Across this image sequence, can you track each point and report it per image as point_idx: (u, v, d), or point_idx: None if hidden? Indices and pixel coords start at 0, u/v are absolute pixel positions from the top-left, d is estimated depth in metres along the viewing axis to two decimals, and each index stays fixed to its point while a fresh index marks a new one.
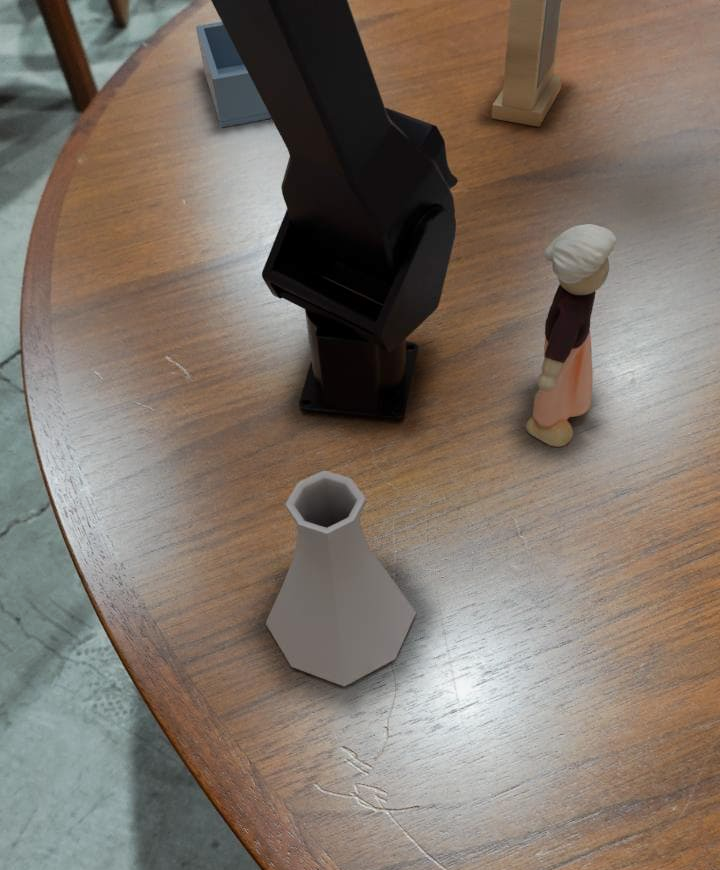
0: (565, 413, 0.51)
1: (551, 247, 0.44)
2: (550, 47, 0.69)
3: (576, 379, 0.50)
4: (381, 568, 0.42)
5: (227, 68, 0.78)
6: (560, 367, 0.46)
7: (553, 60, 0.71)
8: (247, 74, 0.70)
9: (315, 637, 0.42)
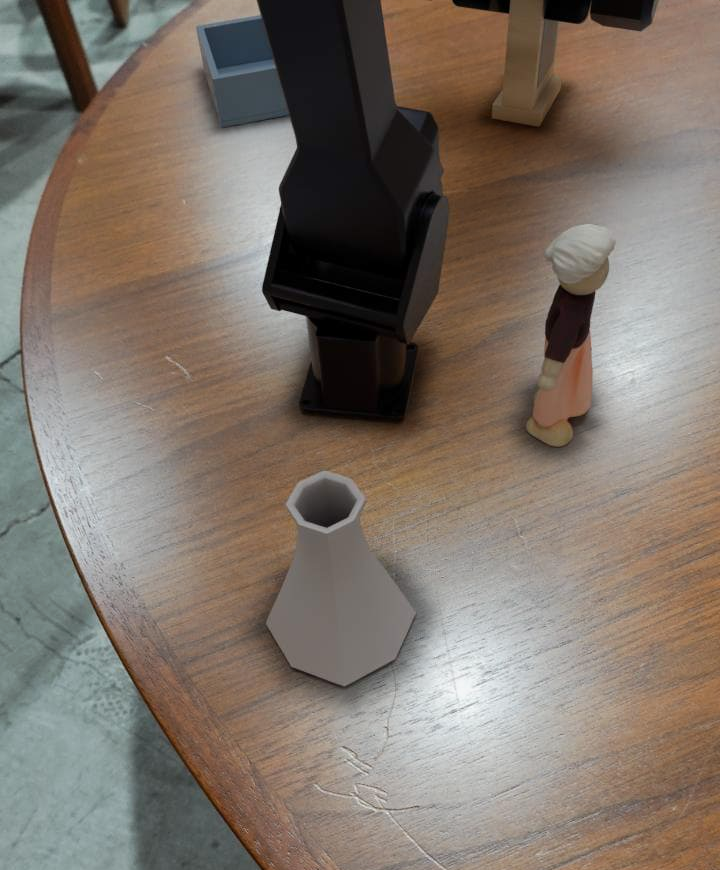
0: (565, 413, 0.51)
1: (551, 247, 0.44)
2: (550, 47, 0.69)
3: (576, 379, 0.50)
4: (381, 568, 0.42)
5: (227, 68, 0.78)
6: (560, 367, 0.46)
7: (553, 60, 0.71)
8: (247, 74, 0.70)
9: (315, 637, 0.42)
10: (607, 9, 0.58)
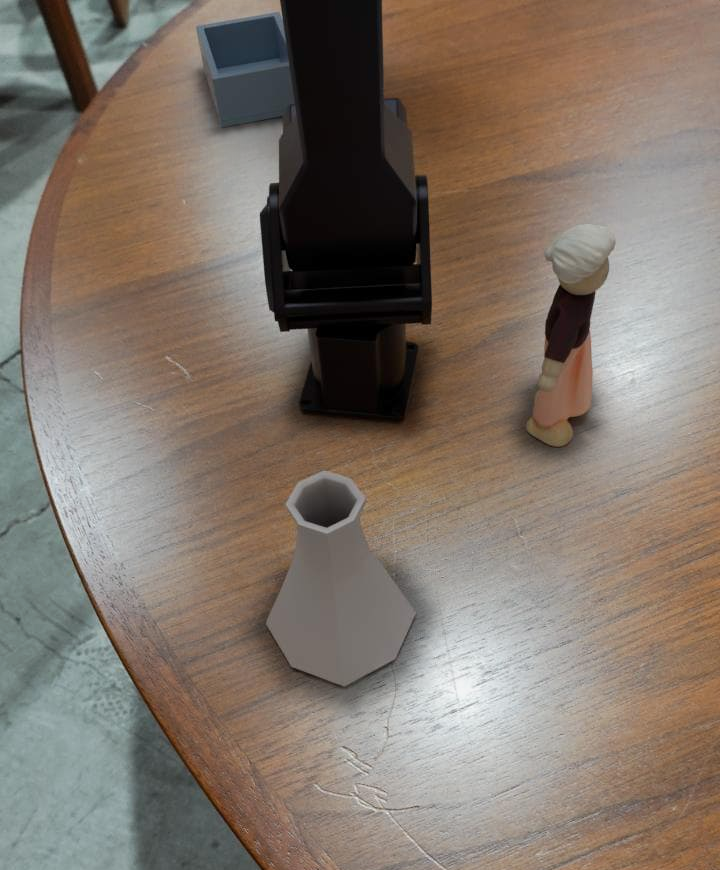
0: (565, 413, 0.51)
1: (551, 247, 0.44)
2: None
3: (576, 379, 0.50)
4: (381, 568, 0.42)
5: (227, 68, 0.78)
6: (560, 367, 0.46)
7: None
8: (247, 74, 0.70)
9: (315, 637, 0.42)
10: None
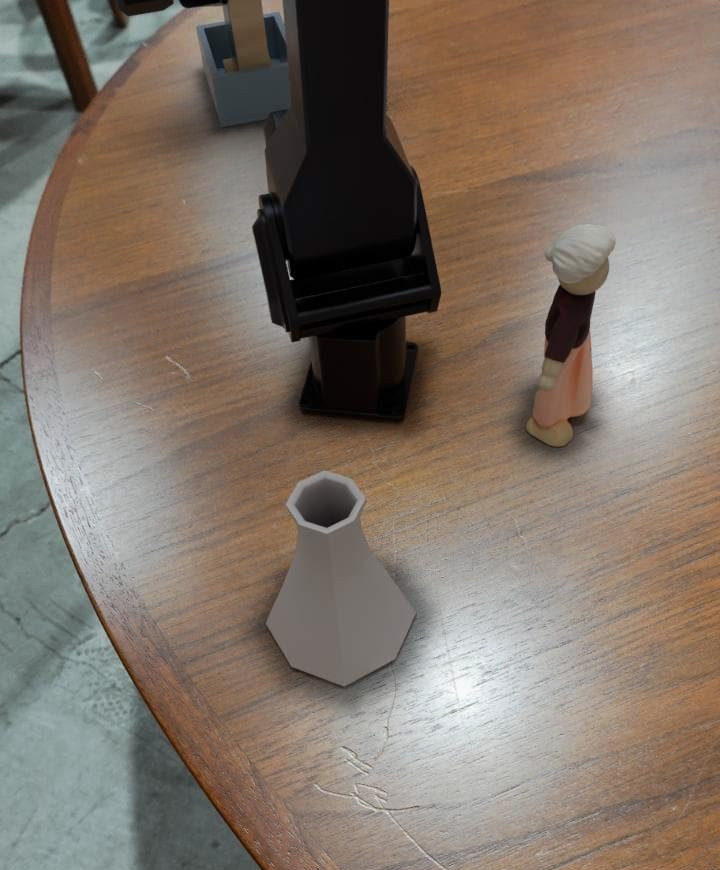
0: (565, 413, 0.51)
1: (551, 247, 0.44)
2: None
3: (576, 379, 0.50)
4: (381, 568, 0.42)
5: None
6: (560, 367, 0.46)
7: None
8: (247, 74, 0.70)
9: (315, 637, 0.42)
10: None
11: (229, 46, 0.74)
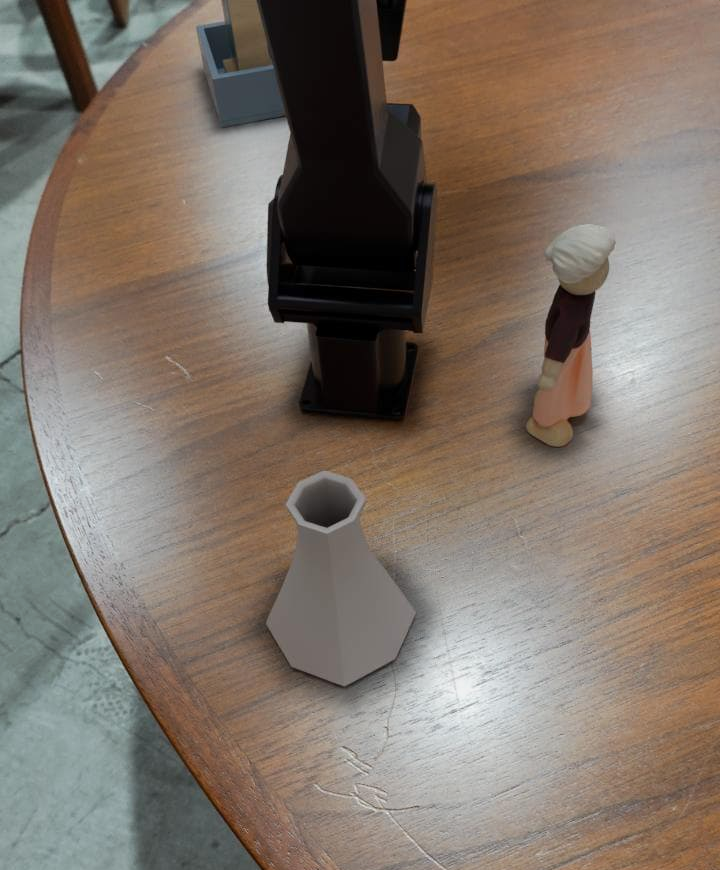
0: (565, 413, 0.51)
1: (551, 247, 0.44)
2: None
3: (576, 379, 0.50)
4: (381, 568, 0.42)
5: None
6: (560, 367, 0.46)
7: None
8: (247, 74, 0.70)
9: (315, 637, 0.42)
10: None
11: (229, 46, 0.74)
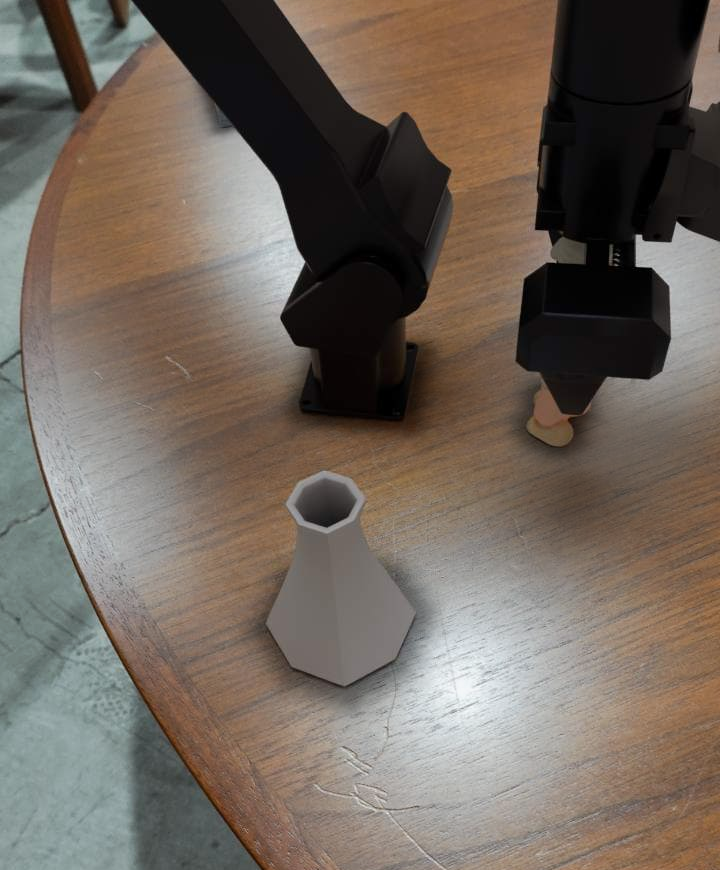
0: None
1: (557, 246, 0.44)
2: None
3: None
4: (381, 568, 0.42)
5: None
6: None
7: None
8: None
9: (315, 637, 0.42)
10: (528, 290, 0.38)
11: None
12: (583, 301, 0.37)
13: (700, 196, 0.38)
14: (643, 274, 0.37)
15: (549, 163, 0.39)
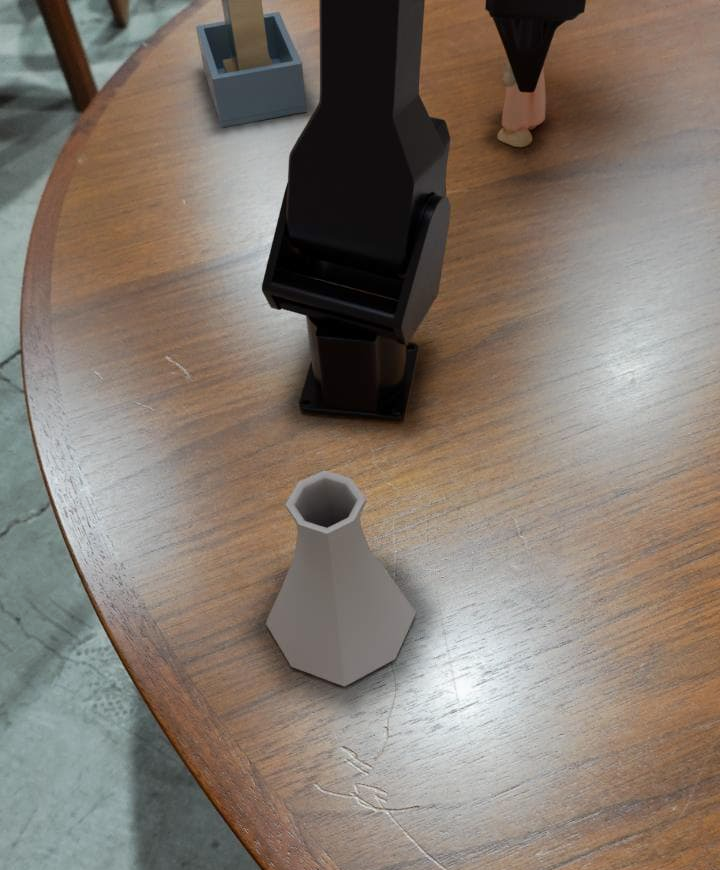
0: (525, 121, 0.69)
1: None
2: None
3: None
4: (381, 568, 0.42)
5: None
6: None
7: None
8: (247, 74, 0.70)
9: (315, 637, 0.42)
10: None
11: (229, 46, 0.74)
12: None
13: None
14: None
15: None
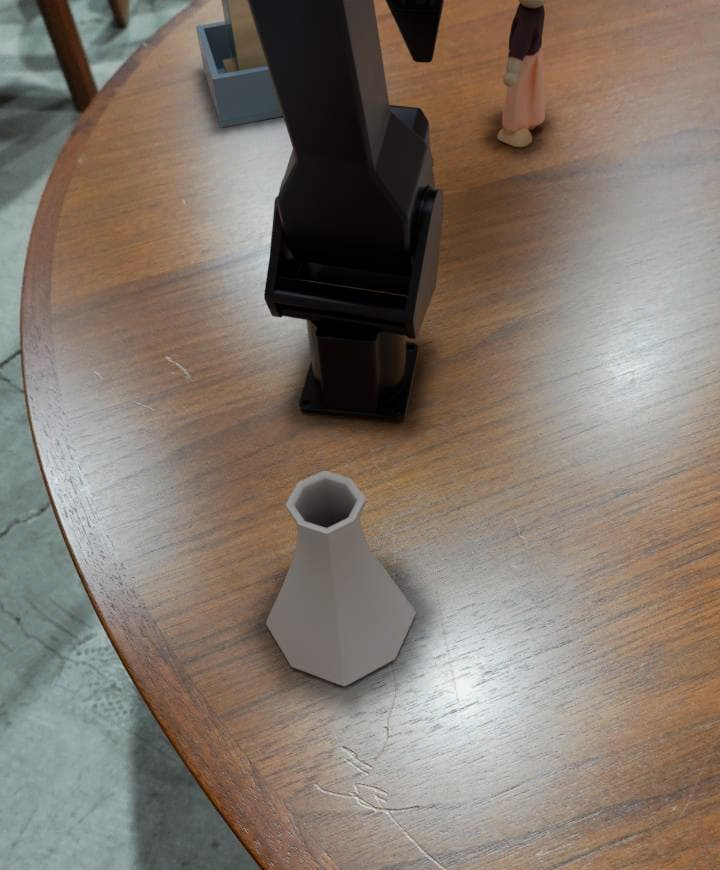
0: (525, 121, 0.69)
1: None
2: None
3: (533, 90, 0.68)
4: (381, 568, 0.42)
5: None
6: (519, 64, 0.64)
7: None
8: (247, 74, 0.70)
9: (315, 637, 0.42)
10: None
11: (229, 46, 0.74)
12: None
13: None
14: None
15: None
